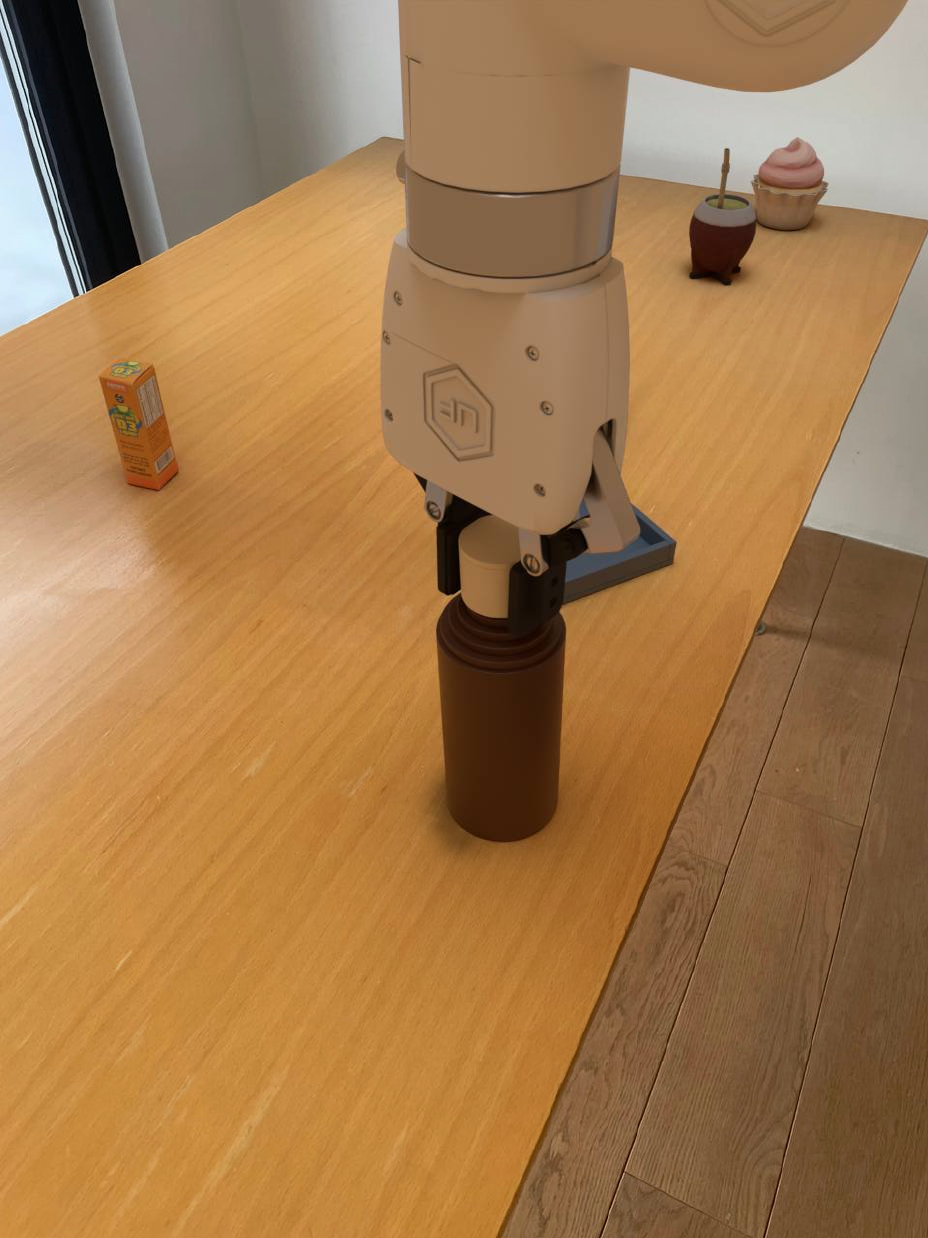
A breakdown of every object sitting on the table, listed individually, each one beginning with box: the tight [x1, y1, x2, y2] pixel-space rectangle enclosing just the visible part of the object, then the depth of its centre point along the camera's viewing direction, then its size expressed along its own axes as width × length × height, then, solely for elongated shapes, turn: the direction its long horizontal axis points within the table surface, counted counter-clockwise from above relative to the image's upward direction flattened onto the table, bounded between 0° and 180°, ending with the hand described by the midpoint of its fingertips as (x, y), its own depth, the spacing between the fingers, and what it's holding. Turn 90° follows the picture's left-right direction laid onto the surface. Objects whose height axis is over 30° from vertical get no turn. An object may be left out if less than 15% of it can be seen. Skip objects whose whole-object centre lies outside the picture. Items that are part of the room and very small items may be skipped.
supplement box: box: [98, 357, 179, 491], centre depth 80 cm, size 3×3×10 cm
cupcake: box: [750, 136, 830, 231], centre depth 123 cm, size 9×9×10 cm
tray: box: [492, 499, 678, 605], centre depth 75 cm, size 13×11×2 cm
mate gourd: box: [688, 147, 757, 286], centre depth 109 cm, size 8×8×15 cm
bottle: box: [435, 592, 567, 842], centre depth 52 cm, size 6×6×18 cm
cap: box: [459, 515, 521, 618], centre depth 47 cm, size 4×4×3 cm
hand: (498, 597), depth 48 cm, fingers closed on cap, 3 cm apart
